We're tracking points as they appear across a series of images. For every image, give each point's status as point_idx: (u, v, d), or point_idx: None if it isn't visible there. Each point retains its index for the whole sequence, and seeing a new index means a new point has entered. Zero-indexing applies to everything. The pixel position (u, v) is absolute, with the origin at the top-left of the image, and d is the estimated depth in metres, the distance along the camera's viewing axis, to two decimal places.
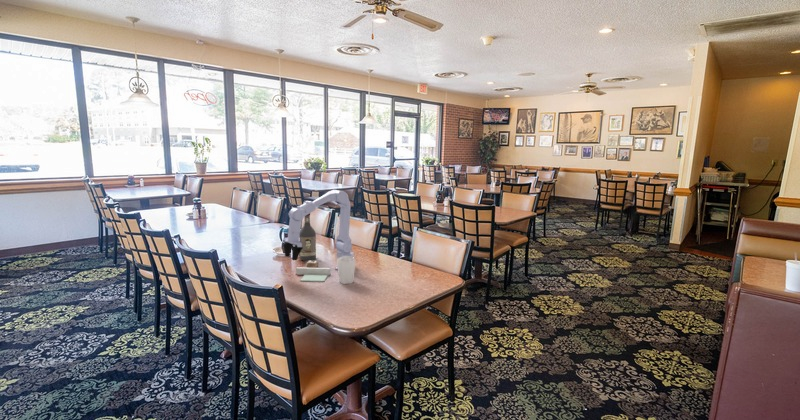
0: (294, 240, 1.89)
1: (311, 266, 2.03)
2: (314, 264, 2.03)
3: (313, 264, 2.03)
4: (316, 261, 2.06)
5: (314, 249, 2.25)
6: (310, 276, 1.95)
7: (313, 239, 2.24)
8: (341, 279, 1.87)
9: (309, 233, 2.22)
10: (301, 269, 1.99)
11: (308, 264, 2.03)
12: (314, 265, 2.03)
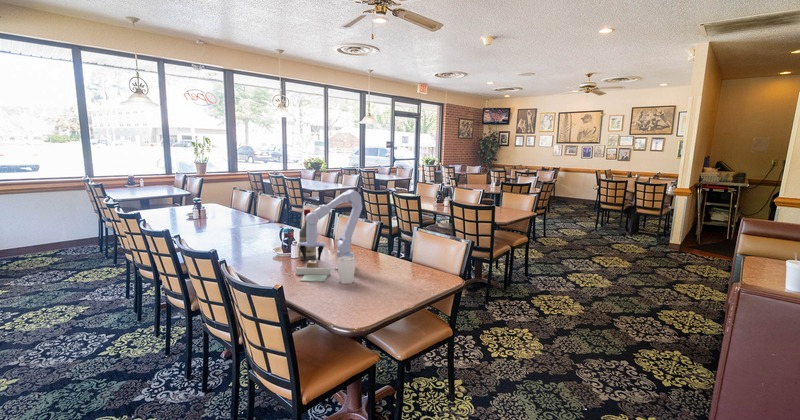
0: (316, 242, 2.03)
1: (311, 266, 2.03)
2: (314, 264, 2.03)
3: (313, 264, 2.03)
4: (316, 261, 2.06)
5: (314, 249, 2.25)
6: (310, 276, 1.95)
7: None
8: (341, 279, 1.87)
9: None
10: (301, 269, 1.99)
11: (308, 264, 2.03)
12: (314, 265, 2.03)
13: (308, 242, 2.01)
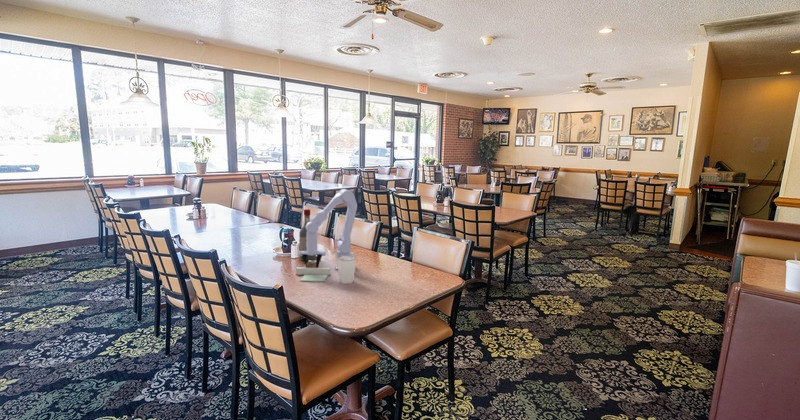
0: (316, 251, 2.04)
1: (311, 266, 2.03)
2: (314, 264, 2.03)
3: (313, 264, 2.03)
4: None
5: None
6: (310, 276, 1.95)
7: None
8: (341, 279, 1.87)
9: None
10: (301, 269, 1.99)
11: (308, 264, 2.03)
12: (314, 265, 2.03)
13: (308, 251, 2.02)
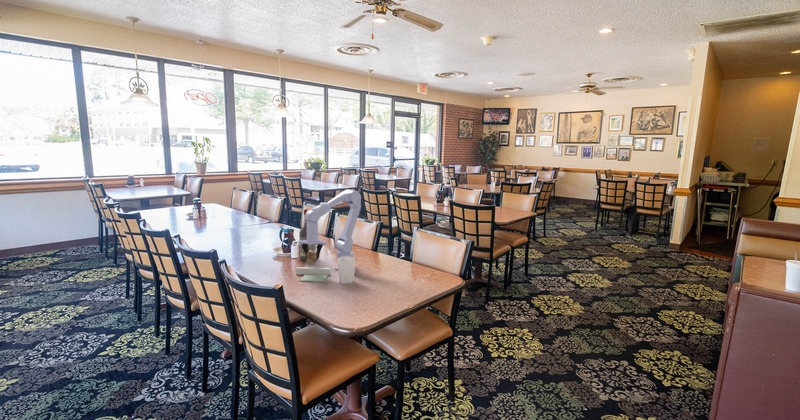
0: (317, 240, 1.98)
1: (311, 256, 1.98)
2: (314, 254, 1.97)
3: (313, 254, 1.97)
4: (316, 251, 2.01)
5: (314, 249, 2.25)
6: (310, 276, 1.95)
7: None
8: (341, 279, 1.87)
9: None
10: (301, 269, 1.99)
11: (308, 254, 1.97)
12: (314, 255, 1.97)
13: (308, 240, 1.96)
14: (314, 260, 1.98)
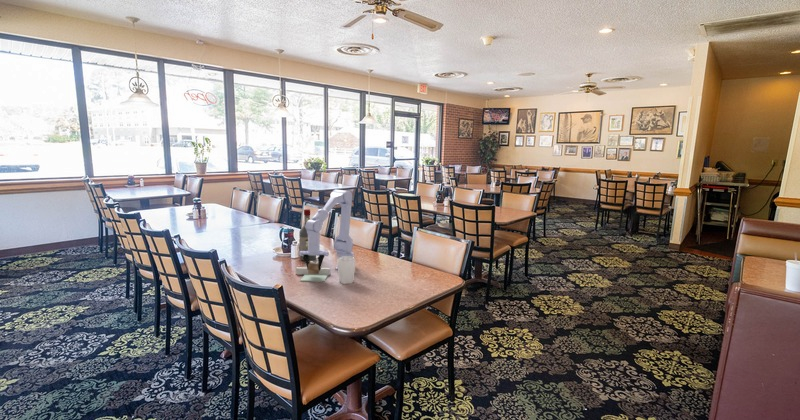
0: (318, 251, 1.90)
1: (313, 267, 1.90)
2: (316, 265, 1.90)
3: (315, 265, 1.90)
4: (318, 262, 1.93)
5: None
6: (310, 276, 1.95)
7: None
8: (341, 279, 1.87)
9: None
10: (301, 269, 1.99)
11: (310, 265, 1.90)
12: (316, 266, 1.90)
13: (310, 251, 1.88)
14: (316, 271, 1.90)
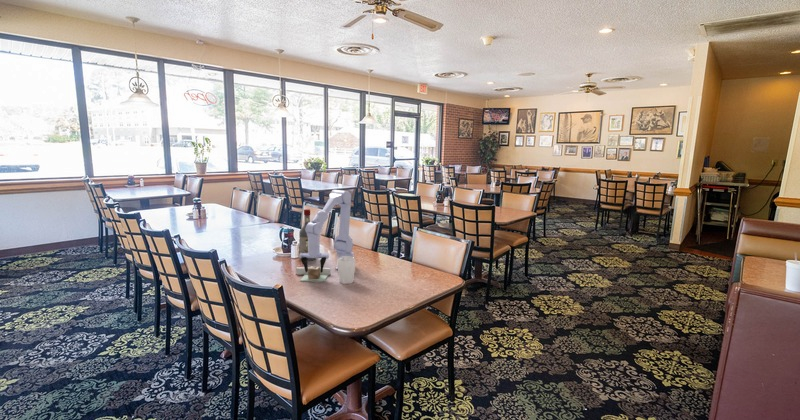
0: (318, 253, 1.90)
1: (313, 272, 1.90)
2: (316, 270, 1.90)
3: (315, 270, 1.90)
4: (318, 267, 1.94)
5: None
6: None
7: None
8: (341, 279, 1.87)
9: None
10: (301, 269, 1.99)
11: (310, 270, 1.90)
12: (316, 271, 1.90)
13: (310, 253, 1.89)
14: (316, 277, 1.91)
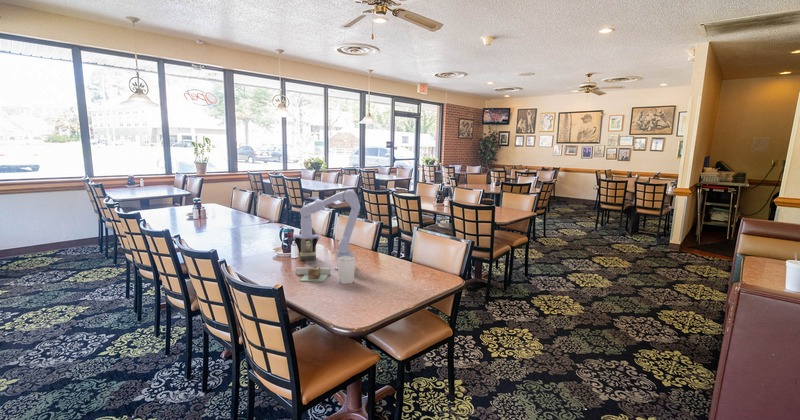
0: (311, 234, 2.07)
1: (313, 272, 1.90)
2: (316, 270, 1.90)
3: (315, 270, 1.90)
4: (318, 267, 1.94)
5: None
6: None
7: None
8: (341, 279, 1.87)
9: None
10: (301, 269, 1.99)
11: (310, 270, 1.90)
12: (316, 271, 1.90)
13: (303, 234, 2.05)
14: (316, 277, 1.91)
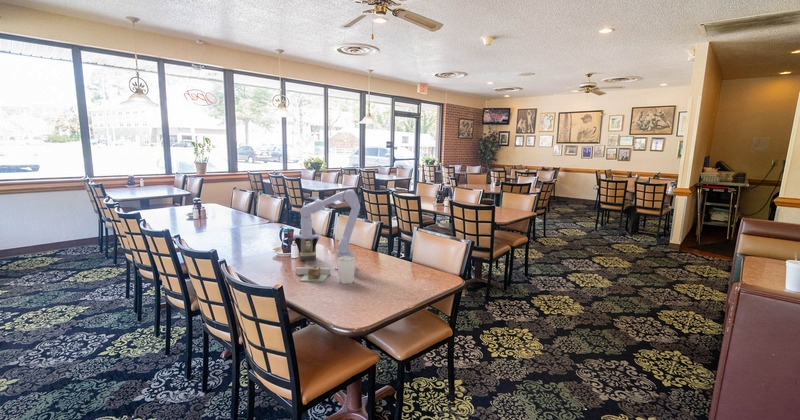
0: (311, 234, 2.07)
1: (313, 272, 1.90)
2: (316, 270, 1.90)
3: (315, 270, 1.90)
4: (318, 267, 1.94)
5: None
6: None
7: None
8: (341, 279, 1.87)
9: None
10: (301, 269, 1.99)
11: (310, 270, 1.90)
12: (316, 271, 1.90)
13: (303, 234, 2.05)
14: (316, 277, 1.91)
